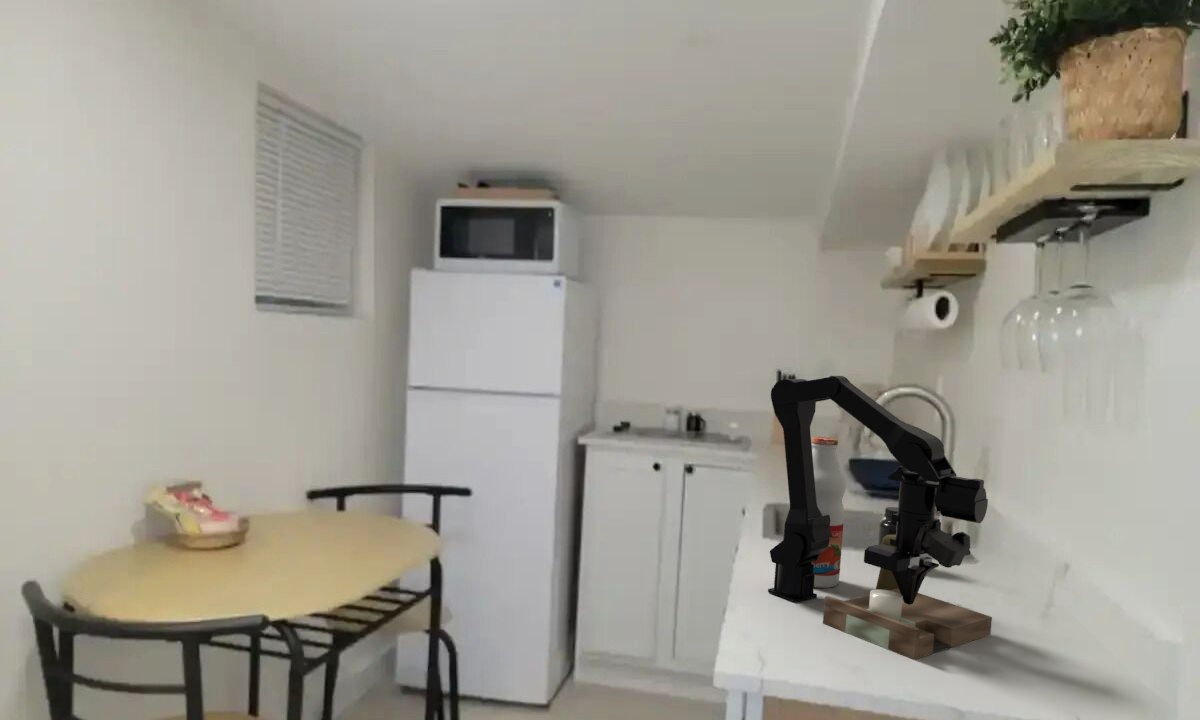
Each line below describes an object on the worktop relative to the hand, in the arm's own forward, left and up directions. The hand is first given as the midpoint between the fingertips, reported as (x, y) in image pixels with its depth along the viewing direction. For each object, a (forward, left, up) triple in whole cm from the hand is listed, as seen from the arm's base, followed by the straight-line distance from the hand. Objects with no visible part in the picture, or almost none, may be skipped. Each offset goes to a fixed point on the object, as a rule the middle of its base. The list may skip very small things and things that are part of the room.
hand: (908, 603), depth 143 cm
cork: (-13, +15, -4) cm, 20 cm away
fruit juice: (-25, +7, -4) cm, 26 cm away
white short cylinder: (0, -7, -1) cm, 7 cm away
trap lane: (0, 0, -4) cm, 4 cm away
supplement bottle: (-25, +33, -4) cm, 42 cm away
